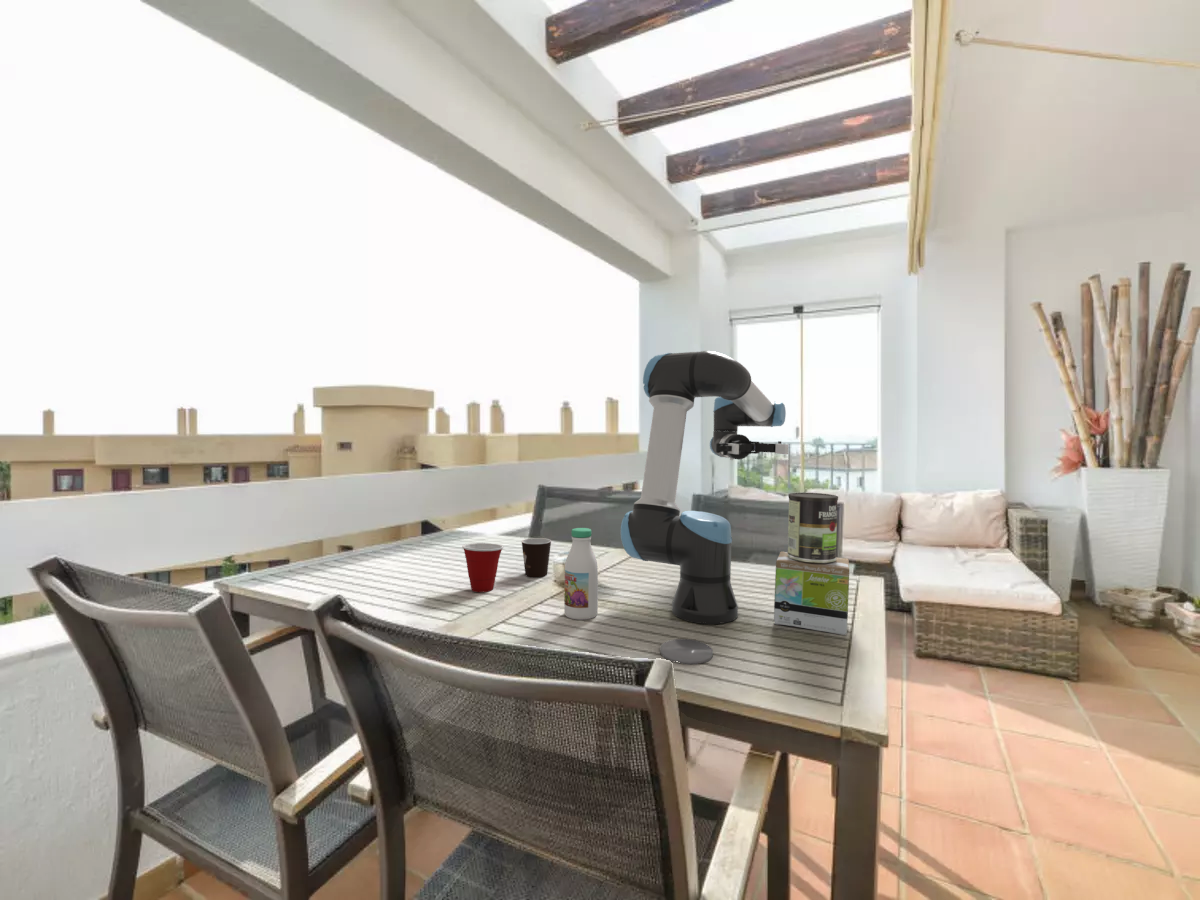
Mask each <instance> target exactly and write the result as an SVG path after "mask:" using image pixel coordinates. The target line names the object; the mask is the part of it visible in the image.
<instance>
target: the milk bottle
mask: <svg viewBox="0 0 1200 900" xmlns="http://www.w3.org/2000/svg"><path fill="white" fill-rule="evenodd" d="M591 539H592V529H591V528H588V527H576V528H572V529H571V540H572V543H571V546H570V550H569V552H568V554H567V556H566V559H565V564H564V565H565V566H564V586H563V587H564V590H563V591H564V592H563V593H564V595H563V597H564V604H563V605H564V608H563V609H564V610H563V611H564V615H565V617H566V618H568V619H571V620H577V621H578V620H583V621H584V620H590V619H593V618H595V617H596V616H597V615H598V611H599V610H598V609H599V607H598V606H599V603H598V602H599V597H598V596H599V594H598V593H599V573H598V572H599V571H598V569H599V568H598V561H597V557H596V555H595V554H596V553H594V551H593V548H592V547H593V546H592V545H591Z"/></svg>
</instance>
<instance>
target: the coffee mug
mask: <svg viewBox="0 0 1200 900" xmlns="http://www.w3.org/2000/svg"><path fill="white" fill-rule="evenodd" d="M551 545H552V539H549V538H545V537H544V538H543V537H534V538H533V537H531V538H525V539H522V540H521V546H522V557H523V566H524V574H525V576H526V577H527V578H534V579H535V578H537V579H538V578H544V577H546V576H548V573H549V571H548V570H549V562H550V553H551Z"/></svg>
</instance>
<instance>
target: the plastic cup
mask: <svg viewBox="0 0 1200 900" xmlns="http://www.w3.org/2000/svg"><path fill="white" fill-rule="evenodd" d="M462 549H463V551H464V552H463V553H464V557H465V562H466V568H467V572H468V573H467V574H468V579H469V583H470V584H469V585H470V589H471V591H472V592H476V593H487V592H492V590H494V587H495V582H496V581H495V580H496V576H497V572H498V567H499V560H500V557H501V553H502V550H503V549H504V546H503V545H501V544H496V543H485V542H484V543H483V542H476V543H475V542H474V543H466V544H463V545H462Z"/></svg>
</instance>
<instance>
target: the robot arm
mask: <svg viewBox="0 0 1200 900" xmlns="http://www.w3.org/2000/svg"><path fill="white" fill-rule="evenodd" d="M642 384H643V385H644V386H643V391H644V394H645V395H646V396H647V397H648V398H649V399H648V402H649V403H650V405H651V406H652V407H653V411H652V416H651V426H650V431H649V432H650V433H649V438H648V439H649V440H648V445H647V453H646V458H645V459H646V461H645V465H644V466H645V467H644V474H643V481H642V488H641V494H640V498H639V499H638V500H636V501H635V502H633V509H632V510H630V511H627V512H626V513H625V515H624V516H623V518H622V520H621V525H620V539H621V543H622V546H623V548H624V550H625V552H626V554H627V555H628V556H630V557H631V558H633V559H638V560H641V561H645V562H654V563H660V564H661V563H662V564H667V565H673V566H679V569H680V570H679V581H678V584H677V586H676V589H675V592H674V595H673V599H672V603H671V607H672V608H671V612H672V614H673V616H675V617H677V618H679V619H681V620H682V621H683V620H684V621H687V622H690V623H694V624H695V623H697V624H703V625H704V624H705V625H718V624H719V625H720V624H726V623H730V622H734V621H735V620H736V619H737V618H738V613H739V612H738V611H739V605H738V603H737V602H738V601H737V599H736V596H735V592H734V590H733V586H732V583H731V577H732V576H731V569H732V567H731V565H732V543H733V538H732V525H731V523H730V521H729V520H728V519H726V518H725V517H723V516H722V515H718V514H715V513H711V512H707V511H700V510H699V511H697V510H685V511H682V512H681V509H680V507H678V505H677V503H676V498H677V497H676V496H677V490H678V481H679V475H680V474H679V473H680V466H681V459H682V451H683V444H684V435H685V430H686V429H685V428H686V420H687V413H688V412H689V411H690V410H691V409H693V407H694V406H695V405H694V404H695V398H709V397H716V398H715V399H714V403H713V404H714V405H713V411H712V412H713V432H712V433H713V435H712V437H711V439H710V440H709V449H710V451H711V452H712V453H713V454H714V455H716V456H717V457H719V458H725V459H726V458H727V459H729V460H730V461H733V460H743V459H745V458H747V457H748V456H749V455H751V454H752V455H753V454H760V453H773V454H774V453H775V454H776V455H777V454H779V455H789V444H788V443H782V440H780V441H779V440H778V441H777V443H766V442H765V443H764V442H759V441H752V440H750V439H749V438H748V436H746V435H743V434H738V430H739V429H738V427H766V428H767V427H770V428H773V427H782V426H783V425H784V424H785V422H786V415H787V413H786V407H785V404H784V402H782V401H771V400H770V399H769V398H768V397H767V396H766V395H765V394H764V393H763V392H762V391H761V390H760V388H759V387H758V386H757V385H756V384H755V383H754V382H753V381H752V376H751V373H750V372H749V370H748V369H747V368H746V367H745V366H744V364H741V362H739V361H737V359H734V358H732V357H730V356H728V355H726V354H723V353H721V352H719V351H718V352H716V351H713V350H711V351H710V350H701V351H688V352H687V351H686V352H676V353H675V352H673V353H672V352H667V353H663V354H657V355H654V356H653V357H651V359H649V361H648V362H647V364H646V366H645V369H644V371H643V378H642ZM680 513H681V514H680Z"/></svg>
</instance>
